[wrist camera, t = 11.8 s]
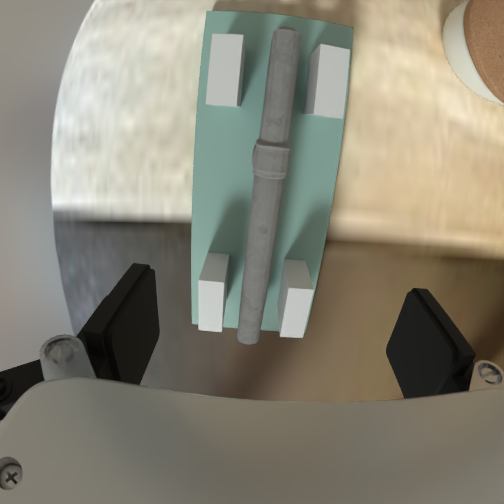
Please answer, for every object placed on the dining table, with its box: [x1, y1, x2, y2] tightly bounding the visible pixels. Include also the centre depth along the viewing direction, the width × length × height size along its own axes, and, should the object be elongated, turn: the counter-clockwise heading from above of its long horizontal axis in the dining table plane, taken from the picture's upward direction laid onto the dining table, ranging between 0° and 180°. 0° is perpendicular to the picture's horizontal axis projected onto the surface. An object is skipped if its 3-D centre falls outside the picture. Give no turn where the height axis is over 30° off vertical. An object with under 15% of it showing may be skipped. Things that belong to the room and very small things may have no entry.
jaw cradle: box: [191, 11, 353, 338], centre depth 24 cm, size 12×30×6 cm, turn 175°
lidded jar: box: [442, 0, 504, 105], centre depth 16 cm, size 11×11×9 cm
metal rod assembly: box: [237, 26, 302, 344], centre depth 24 cm, size 26×3×5 cm, turn 174°
